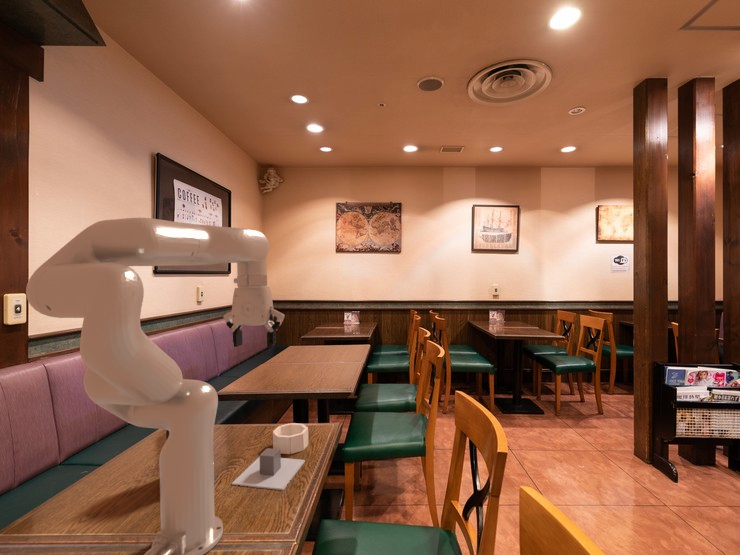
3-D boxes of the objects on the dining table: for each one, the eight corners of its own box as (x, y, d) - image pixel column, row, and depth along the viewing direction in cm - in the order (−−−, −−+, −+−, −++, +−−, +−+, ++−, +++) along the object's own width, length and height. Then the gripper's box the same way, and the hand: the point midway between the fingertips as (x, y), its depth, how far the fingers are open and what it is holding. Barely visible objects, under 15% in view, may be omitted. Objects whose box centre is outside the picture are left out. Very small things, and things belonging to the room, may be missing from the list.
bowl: (299, 455, 104) (299, 438, 104) (268, 452, 106) (267, 435, 106) (312, 439, 114) (311, 424, 114) (283, 437, 116) (282, 422, 116)
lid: (283, 492, 86) (282, 468, 87) (231, 487, 89) (231, 463, 89) (305, 463, 100) (304, 442, 100) (260, 459, 103) (259, 438, 103)
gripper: (214, 283, 92) (216, 348, 93) (276, 281, 89) (278, 349, 89) (231, 282, 100) (233, 343, 100) (288, 281, 96) (290, 343, 97)
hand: (254, 346), depth 95 cm, fingers open, 9 cm apart
